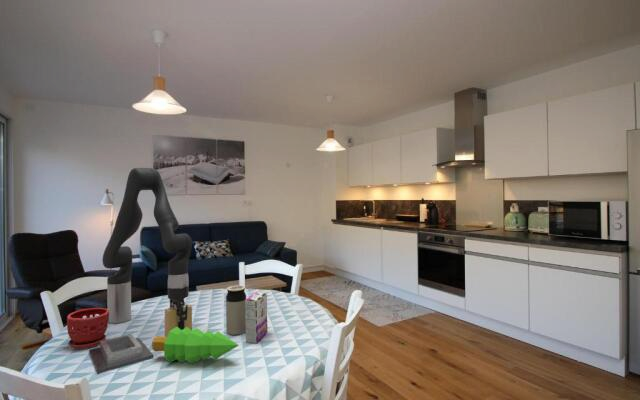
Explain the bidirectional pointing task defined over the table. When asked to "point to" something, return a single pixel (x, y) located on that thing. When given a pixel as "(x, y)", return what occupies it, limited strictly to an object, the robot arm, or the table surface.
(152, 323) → the table surface
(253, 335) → the candy bar box
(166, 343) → the decorative tree
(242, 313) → the travel mug
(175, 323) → the tan rectangular block
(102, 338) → the plant pot
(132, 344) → the duct flange
